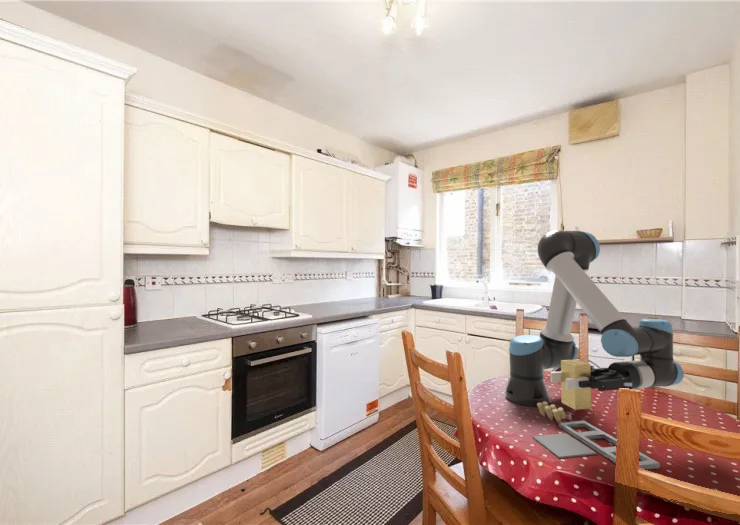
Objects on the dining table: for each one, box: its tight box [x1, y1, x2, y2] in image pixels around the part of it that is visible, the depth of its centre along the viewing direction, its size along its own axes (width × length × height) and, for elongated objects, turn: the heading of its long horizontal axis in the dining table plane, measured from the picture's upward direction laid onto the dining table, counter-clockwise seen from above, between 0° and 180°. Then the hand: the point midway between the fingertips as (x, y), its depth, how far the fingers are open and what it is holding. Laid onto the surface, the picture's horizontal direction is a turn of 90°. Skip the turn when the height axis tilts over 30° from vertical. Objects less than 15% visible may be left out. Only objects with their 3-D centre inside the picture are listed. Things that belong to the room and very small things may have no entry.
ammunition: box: [536, 401, 573, 424], centre depth 112 cm, size 5×7×8 cm
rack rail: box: [557, 420, 660, 470], centre depth 95 cm, size 24×9×1 cm, turn 9°
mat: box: [532, 432, 597, 459], centre depth 95 cm, size 11×11×1 cm
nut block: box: [560, 358, 592, 411], centre depth 94 cm, size 5×5×12 cm
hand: (559, 380), depth 93 cm, fingers closed on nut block, 5 cm apart
